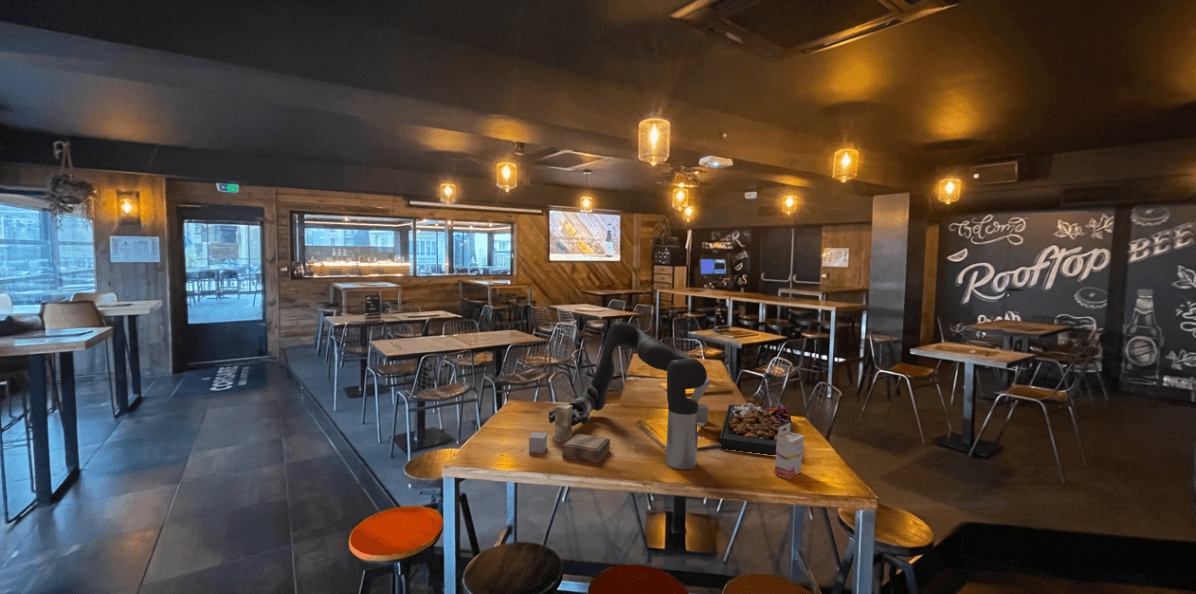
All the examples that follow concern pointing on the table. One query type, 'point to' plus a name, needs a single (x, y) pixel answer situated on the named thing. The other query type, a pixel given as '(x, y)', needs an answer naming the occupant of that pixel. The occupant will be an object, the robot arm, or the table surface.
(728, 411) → the food platter
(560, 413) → the oak block
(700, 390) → the phone holder
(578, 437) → the walnut riser
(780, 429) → the ink cartridge box
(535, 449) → the stone cube
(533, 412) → the table surface
